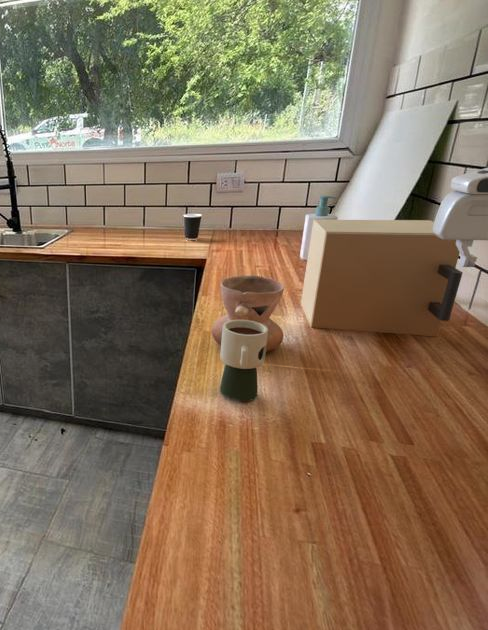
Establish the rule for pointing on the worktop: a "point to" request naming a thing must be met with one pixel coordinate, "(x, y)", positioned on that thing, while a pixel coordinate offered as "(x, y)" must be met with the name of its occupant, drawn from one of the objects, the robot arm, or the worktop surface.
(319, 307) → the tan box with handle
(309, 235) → the soap bottle
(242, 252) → the worktop surface
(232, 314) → the terracotta hourglass vessel
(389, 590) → the worktop surface
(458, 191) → the robot arm
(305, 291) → the cupboard
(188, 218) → the dixie cup
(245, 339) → the character mug
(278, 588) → the worktop surface
